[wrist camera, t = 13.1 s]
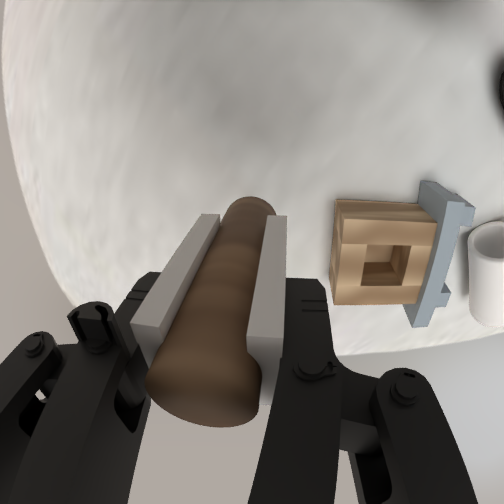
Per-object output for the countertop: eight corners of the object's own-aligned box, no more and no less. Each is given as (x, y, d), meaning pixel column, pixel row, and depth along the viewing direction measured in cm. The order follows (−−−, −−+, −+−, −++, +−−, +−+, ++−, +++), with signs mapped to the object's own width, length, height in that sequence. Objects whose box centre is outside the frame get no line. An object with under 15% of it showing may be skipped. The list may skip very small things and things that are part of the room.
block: (335, 199, 27) (344, 219, 23) (417, 204, 26) (437, 223, 22) (328, 277, 32) (333, 305, 27) (402, 277, 31) (415, 303, 26)
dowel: (223, 196, 14) (130, 355, 5) (277, 197, 14) (258, 372, 5) (226, 244, 15) (160, 417, 7) (276, 245, 15) (258, 431, 6)
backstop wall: (420, 180, 25) (447, 200, 20) (458, 185, 25) (488, 205, 19) (397, 294, 32) (412, 327, 27) (431, 293, 31) (449, 324, 26)
